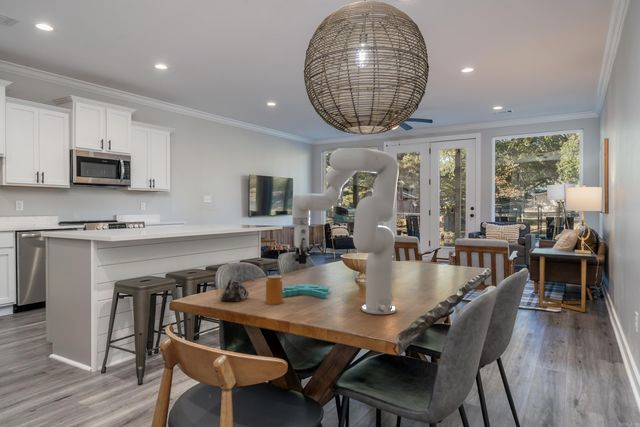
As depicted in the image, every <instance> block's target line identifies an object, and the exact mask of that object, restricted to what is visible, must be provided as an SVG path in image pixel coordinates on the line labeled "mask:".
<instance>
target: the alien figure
mask: <svg viewBox="0 0 640 427" xmlns="http://www.w3.org/2000/svg"><path fill="white" fill-rule="evenodd" d="M329 293H330V287H328V286H324V285H321V284H320V285H319V284H316V283H301V284H295V285H294V284H293V285H285V286H283V290H282V298H286V297H292V296H298V295H302V296H303V295H305V296H306V295H307V296H308V295H309V296H311V297H316V298H320V299H328V295H329Z"/></svg>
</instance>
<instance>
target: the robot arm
mask: <svg viewBox="0 0 640 427" xmlns="http://www.w3.org/2000/svg"><path fill="white" fill-rule="evenodd" d="M328 162H329V166H330V168H329V170H328V171H327V172H326V174H325V180H326V182H327V184H328V185H329V187H328V188H327V189H326V190H325V192H322V193H313V192H311V193H298V194H294V195H293V196H292V226H294V233H293V245H294V247H295V249H294V250H295V252H294V253H300V254H299V258H294V262H298V264H299V265H305V264H307V258H306V253H307V249H309V248H310V232H309V227H310V224H311V223H310V222H311V212H326V211H328V210H329V209H331V208H332V207H333V206H334V205H335V204H336V203H337V202H338V201H339V199H340V197H341V195H342V191H343V190H342V188H343V187H344V186H345V185H346V184H347V183H348V182H349V180H350V179H352V178H353V176H354V175H355V174H356V173H357V172H362V173H363V172H364V173H372V174H373V173H374V174H377V176H376V178H375V180H374V182H373V186H372V195H370V196H365V197H363V198H362V199H360V200H359V202H358V203H357V205H356V207H355V211H354V212H355V214H354V223H353V233H352V241H353V246H354V248H355V249H356V250H357V252H359V253H362V254H367V257H366V263H365V264H366V265H365V267H366V268H365V304H363V305H361V311H362V312H364V313H365V314H371V315H391V314H394V313H396V310H397V308H396V307H395V306H393V305H392V303H393V302H392V296H393V295H392V292H393V290H392V289H393V288H392V286H393V255H394V249H395V243H396V238H395V234H394V232H393V230H391V229H390V228H389V227H387V226H384V225H378V224H382V223H387V222H390V221H391V220H392V219H393V217H394V214H395V206H396V196H397V187H398V181H399V180H398V179H399V173H400V168H399V163H398V161H397V160H396V158H395V157H394V156H393V155H391V154H390V153H388V152H386V151H382V150H379V149H373V148H367V147H342V148H341V147H340V148H336V149H335V150H333V152H331V154H330V156H329V159H328Z"/></svg>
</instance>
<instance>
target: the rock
mask: <svg viewBox="0 0 640 427" xmlns="http://www.w3.org/2000/svg"><path fill="white" fill-rule="evenodd" d="M249 295H250V293H249V291H248V290H247V287H246V286H245V285H244V284H243V283H242V282H241V281H240V280H238V281H237V280H234V279H231V278H230V279H229V280H228V282H227V285H226V286H225V288H224V290H223V292H222V293H221V294H220V296H219V299H220V301H223V302H238V301H240V302H242V301H244V300H245V299H246V298H248V297H249Z"/></svg>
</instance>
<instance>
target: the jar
mask: <svg viewBox="0 0 640 427" xmlns="http://www.w3.org/2000/svg"><path fill="white" fill-rule="evenodd" d="M266 278H267V279H266V280H265V304H268V305H281V304H282V303H283V297H282V291H283V289H284V286H283V285H284V284H283V282H284V280H283V279H282V276H281V275H268V276H267V277H266Z"/></svg>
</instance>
